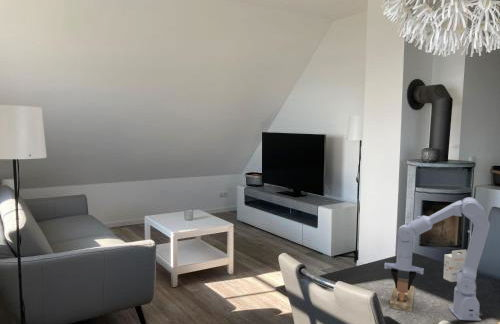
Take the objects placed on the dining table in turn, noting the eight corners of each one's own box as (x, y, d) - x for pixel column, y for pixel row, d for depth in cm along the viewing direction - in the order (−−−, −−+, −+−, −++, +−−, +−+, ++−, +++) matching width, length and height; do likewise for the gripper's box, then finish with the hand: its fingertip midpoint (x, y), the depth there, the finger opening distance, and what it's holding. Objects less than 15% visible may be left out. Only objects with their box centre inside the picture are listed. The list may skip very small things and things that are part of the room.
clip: (407, 298, 166) (408, 278, 165) (406, 305, 160) (407, 284, 159) (397, 297, 168) (398, 276, 167) (396, 303, 162) (397, 282, 161)
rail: (414, 290, 176) (414, 286, 176) (411, 311, 156) (411, 306, 156) (394, 287, 179) (394, 283, 179) (389, 307, 159) (389, 302, 159)
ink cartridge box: (457, 276, 194) (459, 246, 192) (465, 280, 189) (467, 249, 187) (442, 278, 191) (444, 247, 190) (450, 282, 186) (452, 250, 185)
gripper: (424, 255, 163) (422, 288, 164) (386, 250, 169) (384, 281, 170) (424, 260, 156) (422, 294, 158) (384, 254, 162) (382, 287, 163)
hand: (402, 288), depth 163 cm, fingers closed on clip, 4 cm apart
